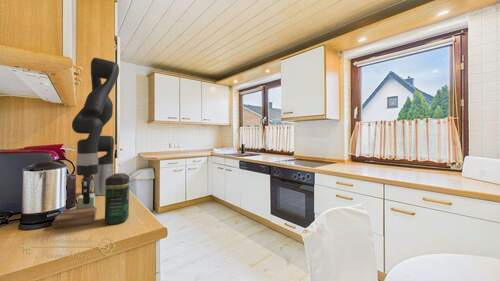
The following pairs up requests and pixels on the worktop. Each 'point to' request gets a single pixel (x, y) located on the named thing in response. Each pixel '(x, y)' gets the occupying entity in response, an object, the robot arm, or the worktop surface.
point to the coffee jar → (116, 198)
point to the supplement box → (71, 191)
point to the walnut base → (75, 217)
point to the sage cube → (91, 204)
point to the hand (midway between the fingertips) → (87, 201)
